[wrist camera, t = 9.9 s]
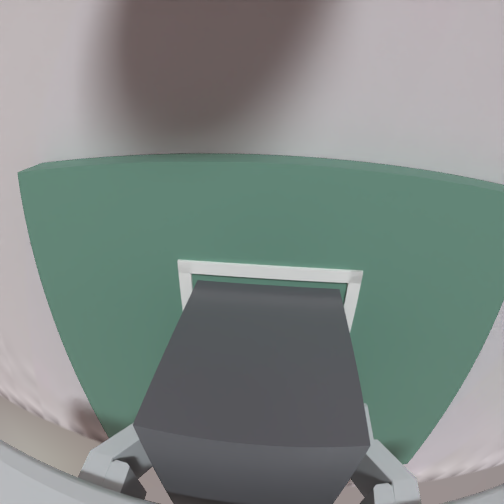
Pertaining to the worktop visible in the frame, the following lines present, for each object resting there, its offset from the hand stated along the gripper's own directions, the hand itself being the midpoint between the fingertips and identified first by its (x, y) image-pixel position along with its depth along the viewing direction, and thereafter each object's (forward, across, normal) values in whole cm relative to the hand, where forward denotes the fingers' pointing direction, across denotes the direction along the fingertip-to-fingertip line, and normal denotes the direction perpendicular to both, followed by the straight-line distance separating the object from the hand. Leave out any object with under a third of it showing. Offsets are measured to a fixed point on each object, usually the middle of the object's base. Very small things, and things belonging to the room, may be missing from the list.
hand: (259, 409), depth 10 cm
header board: (+3, 0, 0) cm, 3 cm away
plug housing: (+2, 0, +2) cm, 2 cm away
